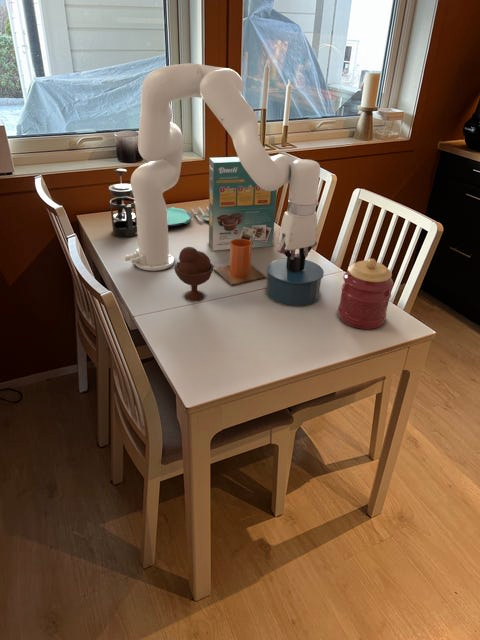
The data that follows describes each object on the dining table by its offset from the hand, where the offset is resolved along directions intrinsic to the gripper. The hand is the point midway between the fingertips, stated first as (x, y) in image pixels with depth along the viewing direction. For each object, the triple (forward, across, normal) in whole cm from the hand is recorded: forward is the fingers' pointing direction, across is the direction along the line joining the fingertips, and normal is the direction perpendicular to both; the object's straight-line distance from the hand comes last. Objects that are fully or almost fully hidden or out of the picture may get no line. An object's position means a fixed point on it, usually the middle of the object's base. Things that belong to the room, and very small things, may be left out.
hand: (295, 268), depth 146 cm
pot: (+8, 0, 0) cm, 8 cm away
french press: (+8, +29, -65) cm, 72 cm away
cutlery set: (+8, +6, -70) cm, 71 cm away
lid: (+1, 0, 0) cm, 1 cm away
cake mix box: (+8, -4, -38) cm, 39 cm away
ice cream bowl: (+8, +27, -11) cm, 30 cm away
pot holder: (+8, +8, -18) cm, 21 cm away
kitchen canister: (+8, -9, +20) cm, 23 cm away
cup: (+7, +8, -18) cm, 21 cm away
